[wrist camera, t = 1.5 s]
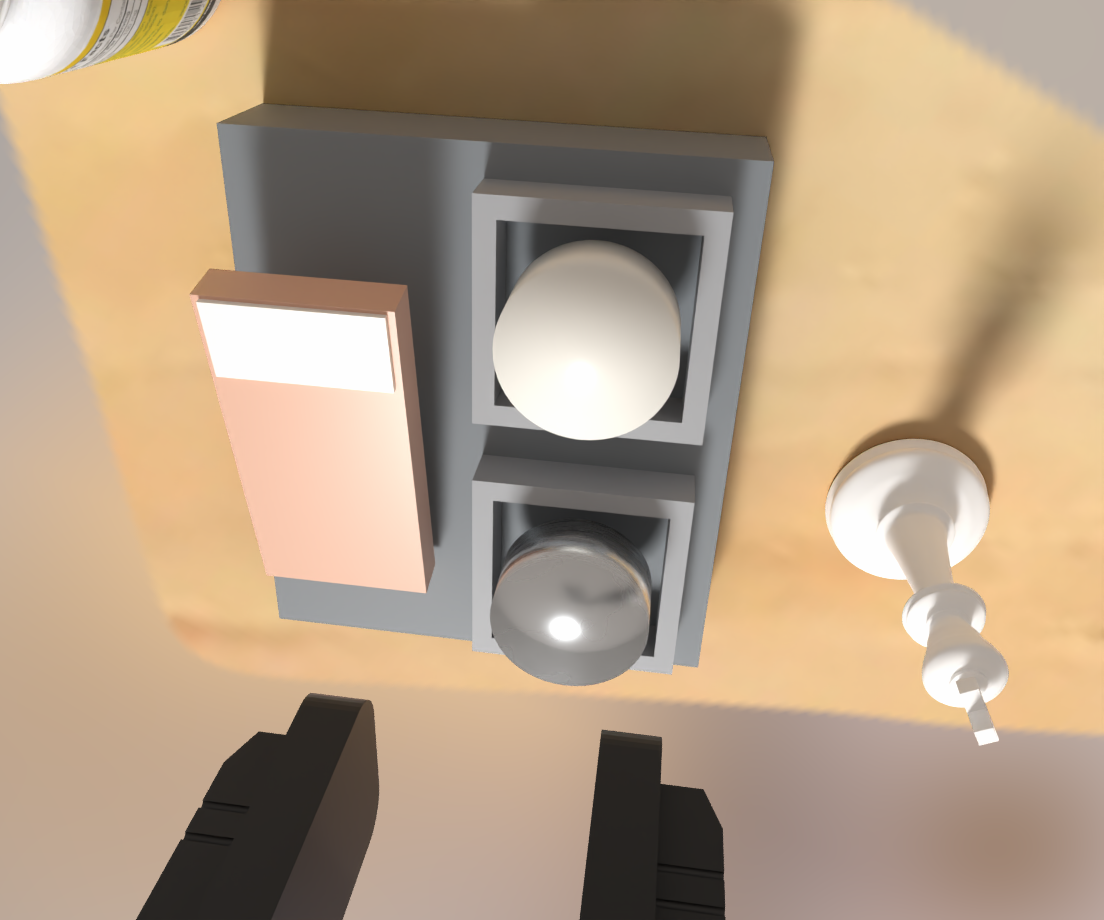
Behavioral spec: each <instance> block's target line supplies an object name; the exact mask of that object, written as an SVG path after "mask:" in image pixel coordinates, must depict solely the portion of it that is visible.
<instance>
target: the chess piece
mask: <svg viewBox="0 0 1104 920" xmlns="http://www.w3.org/2000/svg"><path fill="white" fill-rule="evenodd" d="M989 514H990V503H989V497H988V493H987V487H986V483H985V481H984V478H983V476H982V474H981V472H980V471H979V469H978V468H977V466H976V465H975V464H974V463H973V462H972V461H971V460H970V459H969V458H968V457H967V456H966V455H964V454H963V453H962V452H960V451H959V450H957V449H955V448H953V447H951V446H949V445H946V444H943V443H940V442H937V441H932V440H926V439H902V440H895V441H891V442H887V443H883V444H880V445H878V446H875V447H873V448H871V449H868V450H867V451H865V452H863V453H861V454H860V455H858V456H857V457H855V458H854V459H853V460H851V461H850V462H849V463H848V464H847V465H846V466H845V467H844V468H843V469H842V470H841V471H840V473H839V474H838V475H837V477H836V478H835V480H834V481H833V483H832V485H831V487H830V489H829V492H828V495H827V499H826V505H825V516H826V522H827V526H828V529H829V532H830V534H831V536H832V538H833V539H834V542H835V544H836V545H837V547H838V549H839V550H840V552H841V553H842V554H843V555H844V556H845V557H846V558H847V559H848V560H849V561H850V562H851V563H852V564H854V565H855V566H857V567H858V568H860V569H862V570H864V571H866V572H868V573H870V574H873V575H876V576H880V577H884V578H889V579H907V581H908V583H909V584H910V586H911V588H912V590H913V592H914V595H912V596H911V597H910V599H909V600H908V601H907V603H906V604H905V606H904V609H903V613H902V622H903V625H904V628H905V630H906V631H907V633H908V634H909V635H910V636H911V637H912V638H913V639H914V640H915V641H916V642H917V643H919V644H921V645H923V646H925V647H927V650H926V655H925V658H924V661H923V667H922V680H923V684H924V687H925V689H926V690H927V692H928V693H929V694H930V695H931V696H932V697H933V698H934V699H936V700H937V701H939V702H941V703H943V704H946V705H949V706H954V707H965V708H966V711H967V713H968V716H969V719H970V722H971V725H972V728H973V731H974V734H975V736H976V738H977V741H978V743H979V745H984V744H988V743H992V742H996V741H998V740H999V738H998V735H997V733H996V730H995V727H994V725H993V722H992V720H991V717H990V715H989V712H988V710H987V707H986V704H985V703H986V702H988V701H990V700H992V699H993V698H994V697H996V696H997V695H998V694H999V693H1000V692H1001V691H1002V690H1003V688H1004V687H1005V685H1006V683H1007V680H1008V675H1009V671H1008V666H1007V663H1006V661H1005V659H1004V657H1003V656H1002V655H1001V653H1000V652H999V651H998V650H997V649H996V648H995V647H994V646H993V645H992V644H991V643H989V642H988V641H986V640H985V639H984V638H983V637H982V636H981V635H980V632H981V631H982V629H983V627H984V624H985V620H986V607H985V603H984V601H983V599H982V598H981V596H980V595H979V594H978V593H977V592H976V591H974V590H973V589H971V588H969V587H967V586H965V585H962V584H958V583H954V582H953V577H952V571H951V567H952V566H954V565H955V564H957V563H958V562H960V561H961V560H963V559H964V558H965V557H966V556H967V555H968V554H969V553H970V552H971V551H972V550H973V549H974V548H975V547H976V546H977V544H978V543H979V541H980V540H981V538H982V536H983V534H984V532H985V530H986V527H987V524H988V521H989Z"/></svg>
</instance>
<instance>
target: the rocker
mask: <svg viewBox="0 0 1104 920" xmlns="http://www.w3.org/2000/svg"><path fill="white" fill-rule="evenodd" d="M190 298H191V302H192V305H193V309H194V313H195V316H196V320H197V323H198V327H199V331H200V334H201V338H202V342H203V345H204V349H205V353H206V356H207V360H208V363H209V367H210V371H211V374H212V378H213V382H214V385H215V389H216V392H217V396H218V400H219V403H220V407H221V411H222V414H223V418H224V422H225V425H226V429H227V432H228V436H229V440H230V443H231V447H232V451H233V454H234V458H235V462H236V465H237V469H238V472H239V476H240V480H241V483H242V487H243V491H244V494H245V498H246V501H247V505H248V509H249V512H250V516H251V520H252V523H253V527H254V531H255V534H256V538H257V541H258V545H259V549H260V552H261V556H262V560H263V563H264V567H265V570H266V574H267V575H268V576H277V577H286V578H295V579H304V580H313V581H321V582H330V583H339V584H348V585H357V586H366V587H374V588H383V589H392V590H401V591H410V592H419V593H427V590H428V587H429V583H430V580H431V577H432V573H433V570H434V567H435V556H434V546H433V536H432V526H431V516H430V506H429V497H428V487H427V477H426V467H425V457H424V447H423V437H422V427H421V417H420V407H419V397H418V387H417V377H416V367H415V357H414V348H413V338H412V328H411V318H410V308H409V298H408V288H407V285H399V284H387V283H375V282H363V281H351V280H339V279H327V278H315V277H303V276H291V275H279V274H267V273H255V272H243V271H231V270H219V269H209V270H208V271H207V273H206V274H205V275H204V276H203V278H202V279H201V280H200V282H199V283H198V284H197V285H196V287H195V288H194V289H193V291H192V292H191V293H190Z"/></svg>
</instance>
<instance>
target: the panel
mask: <svg viewBox="0 0 1104 920" xmlns="http://www.w3.org/2000/svg"><path fill="white" fill-rule="evenodd" d="M217 129H218V137H219V145H220V153H221V161H222V169H223V177H224V184H225V192H226V200H227V208H228V216H229V224H230V232H231V240H232V247H233V255H234V263H235V271H243V272H255V273H267V274H279V275H291V276H303V277H315V278H327V279H339V280H351V281H363V282H375V283H387V284H399V285H407V288H408V298H409V308H410V318H411V328H412V338H413V348H414V357H415V367H416V377H417V387H418V397H419V407H420V417H421V427H422V437H423V447H424V457H425V467H426V477H427V487H428V497H429V506H430V516H431V526H432V536H433V546H434V556H435V567H434V570H433V573H432V577H431V580H430V583H429V587H428V590H427V593H419V592H410V591H401V590H392V589H383V588H374V587H366V586H357V585H348V584H339V583H330V582H321V581H313V580H304V579H295V578H286V577H277V576H274V578H275V586H276V594H277V602H278V610H279V617H280V618H281V619H290V620H298V621H307V622H315V623H324V624H332V625H341V626H349V627H358V628H366V629H375V630H384V631H392V632H401V633H409V634H418V635H426V636H435V637H443V638H452V639H460V640H469V641H472V651H477V652H486V653H494V654H503V655H505V654H504V653H503V651H502V650H501V649H500V647H499V646H498V644H497V642H496V640H495V638H494V635H493V633H492V629H491V625H490V608H491V604H492V601H493V597H494V594H495V590H496V587H497V584H498V580H499V577H500V573H501V570H502V567H503V563H504V560H505V557H506V555H507V553H508V551H509V549H510V547H511V546H512V544H513V543H514V542H515V541H516V540H517V539H518V538H519V537H520V536H521V535H522V534H523V533H525V532H526V531H528V530H529V529H531V528H533V527H535V526H537V525H539V524H541V523H545V522H548V521H551V520H557V519H567V518H575V519H585V520H591V521H595V522H598V523H601V524H604V525H606V526H609V527H611V528H613V529H615V530H617V531H619V532H620V533H621V534H623V535H624V536H626V537H627V538H628V539H629V540H630V541H632V542H633V543H634V544H635V546H636V547H637V548H638V549H639V550H640V552H641V553H642V555H643V556H644V558H645V560H646V562H647V564H648V566H649V570H650V573H651V580H652V590H651V606H650V621H649V635H648V640H647V644H646V646H645V649H644V651H643V653H642V654H641V656H640V658H639V659H638V660H637V661H636V663H635V664H634V665H633V666H632V667H630V668H629V669H630V670H638V671H647V672H655V673H663V674H672V669H673V665H682V666H690V667H698V663H699V656H700V650H701V643H702V636H703V630H704V623H705V617H706V610H707V603H708V597H709V590H710V583H711V577H712V570H713V563H714V557H715V550H716V543H717V537H718V530H719V524H720V517H721V510H722V504H723V497H724V490H725V484H726V477H727V470H728V464H729V457H730V451H731V444H732V437H733V431H734V424H735V417H736V411H737V404H738V397H739V391H740V384H741V377H742V371H743V364H744V358H745V351H746V344H747V338H748V331H749V324H750V318H751V311H752V304H753V298H754V291H755V284H756V278H757V271H758V265H759V258H760V251H761V245H762V238H763V231H764V225H765V218H766V211H767V205H768V198H769V192H770V185H771V178H772V172H773V165H774V160H773V157H772V154H771V151H770V147H769V144H768V141H767V138H766V137H759V136H744V135H729V134H714V133H699V132H684V131H669V130H654V129H639V128H624V127H609V126H594V125H579V124H564V123H549V122H534V121H519V120H503V119H488V118H473V117H458V116H443V115H428V114H413V113H398V112H383V111H368V110H353V109H338V108H323V107H308V106H293V105H278V104H263V103H262V104H260V105H258V106H256V107H253V108H251V109H249V110H246V111H244V112H242V113H239V114H237V115H235V116H232V117H230V118H228V119H225V120H223V121H221V122H219V123H217ZM582 240H601V241H608V242H613V243H617V244H620V245H623V246H625V247H628V248H630V249H633V250H634V251H636V252H638V253H640V254H641V255H643V256H644V257H646V258H647V259H648V260H650V261H651V262H652V263H653V264H654V265H655V266H656V267H657V268H658V269H659V270H660V271H661V272H662V273H663V275H664V276H665V277H666V279H667V280H668V282H669V284H670V285H671V287H672V289H673V291H674V293H675V296H676V298H677V301H678V305H679V309H680V316H681V340H680V365H679V371H678V376H677V379H676V382H675V385H674V388H673V390H672V392H671V394H670V396H669V398H668V399H667V401H666V402H665V404H664V405H663V406H662V408H661V409H660V410H659V411H658V412H657V413H656V414H655V415H654V416H653V417H652V418H651V419H649V420H648V421H647V422H646V423H644V424H643V425H641V426H639V427H638V428H636V429H634V430H632V431H630V432H628V433H626V434H623V435H620V436H616V437H613V438H608V439H601V440H578V439H572V438H567V437H563V436H559V435H556V434H554V433H551V432H549V431H546V430H544V429H543V428H541V427H539V426H537V425H535V424H534V423H533V422H531V421H530V420H528V419H527V418H526V417H525V416H524V415H523V414H521V413H520V412H519V411H518V410H517V409H516V408H515V406H514V405H513V404H512V403H511V402H510V400H509V399H508V397H507V396H506V394H505V393H504V391H503V389H502V387H501V385H500V383H499V380H498V378H497V375H496V372H495V367H494V362H493V337H494V333H495V328H496V325H497V322H498V320H499V317H500V315H501V313H502V311H503V309H504V307H505V305H506V303H507V300H508V298H509V296H510V294H511V292H512V290H513V288H514V286H515V284H516V283H517V281H518V279H519V277H520V276H521V275H522V273H523V272H524V271H525V269H526V268H527V267H528V266H529V265H530V264H531V263H532V262H533V261H534V260H536V259H537V258H538V257H540V256H541V255H542V254H544V253H546V252H547V251H549V250H551V249H553V248H555V247H558V246H560V245H563V244H566V243H570V242H574V241H582Z"/></svg>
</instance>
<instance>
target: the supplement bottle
mask: <svg viewBox="0 0 1104 920" xmlns="http://www.w3.org/2000/svg"><path fill="white" fill-rule="evenodd" d="M220 1H221V0H0V84H11V83H20V82H26V81H33V80H38V79H42V78H46V77H50V76H54V75H57V74H61V73H65V72H69V71H73V70H77V69H81V68H85V67H88V66H92V65H96V64H100V63H104V62H108V61H112V60H115V59H119V58H124V57H127V56H131V55H135V54H140V53H143V52H147V51H150V50H154V49H158V48H161V47H165V46H168V45H171V44H174V43H176V42H179V41H181V40H183V39H185V38H187V37H189V36H191V35H192V34H194V33H195V32H196V31H198V30H199V29H200V28H201V27H202V26H203V25H205V24H206V22H207V21H208V20H209V19H210V18H211V17H212V15H213V14H214V12H215V10H216V9H217V7H218V5H219V3H220Z"/></svg>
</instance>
